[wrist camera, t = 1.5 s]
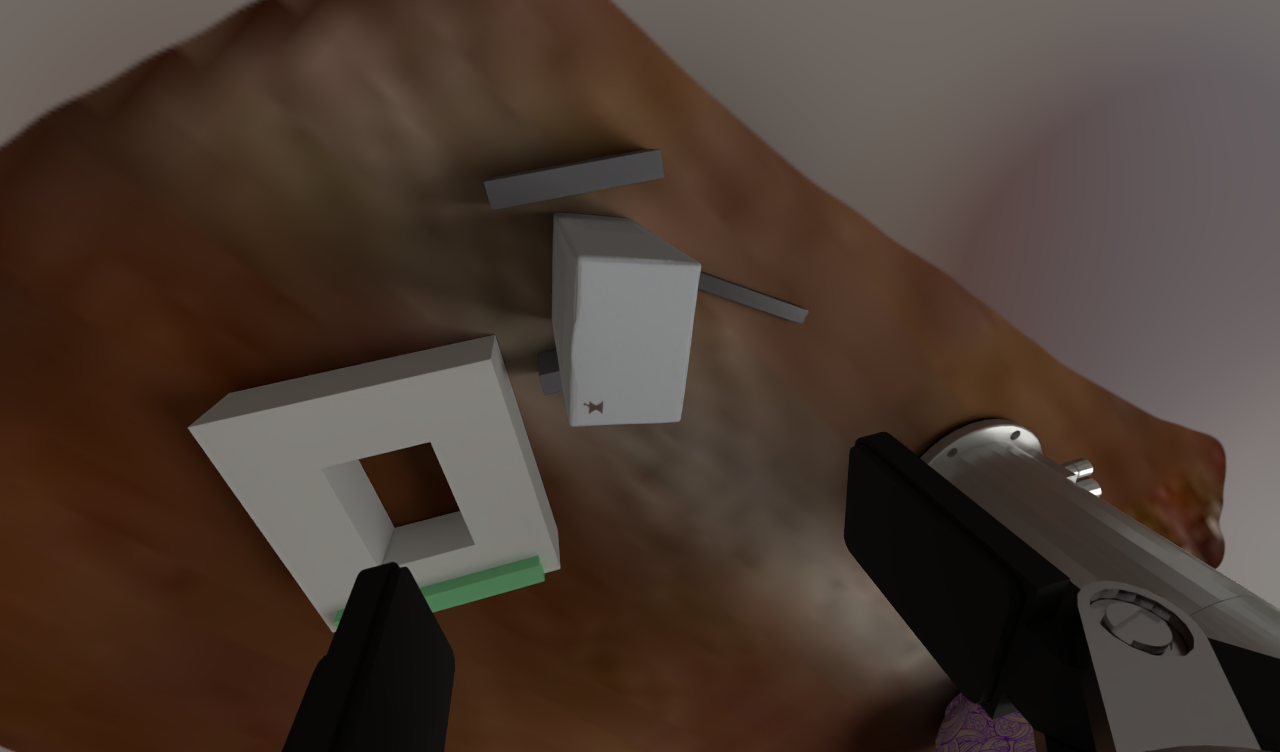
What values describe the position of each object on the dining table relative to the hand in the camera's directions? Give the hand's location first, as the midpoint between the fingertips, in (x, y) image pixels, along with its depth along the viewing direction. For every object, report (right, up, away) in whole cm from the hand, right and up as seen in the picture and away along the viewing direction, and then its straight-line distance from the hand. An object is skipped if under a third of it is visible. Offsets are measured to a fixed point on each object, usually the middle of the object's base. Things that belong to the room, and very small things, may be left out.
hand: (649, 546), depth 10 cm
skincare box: (-3, +10, +17) cm, 19 cm away
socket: (-14, -2, +20) cm, 24 cm away
